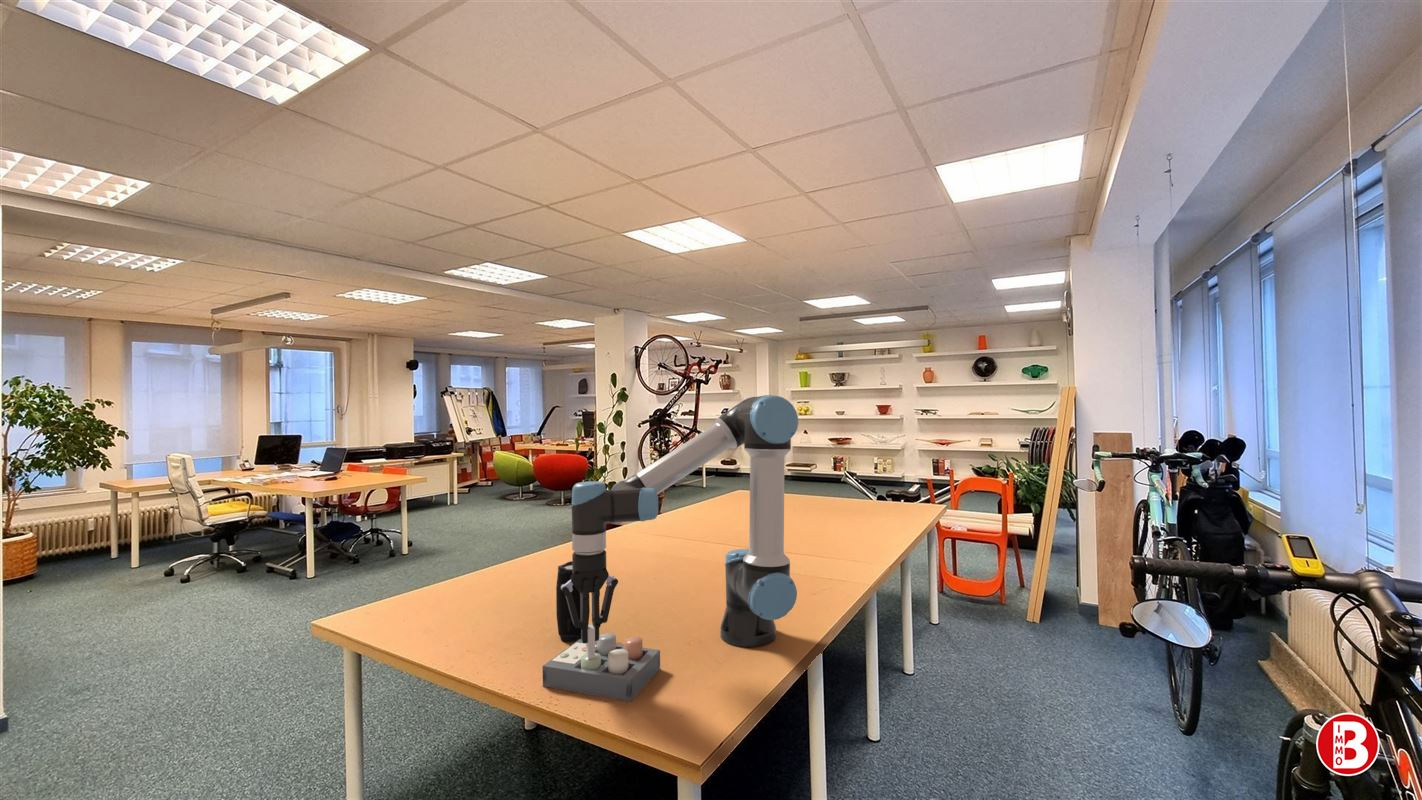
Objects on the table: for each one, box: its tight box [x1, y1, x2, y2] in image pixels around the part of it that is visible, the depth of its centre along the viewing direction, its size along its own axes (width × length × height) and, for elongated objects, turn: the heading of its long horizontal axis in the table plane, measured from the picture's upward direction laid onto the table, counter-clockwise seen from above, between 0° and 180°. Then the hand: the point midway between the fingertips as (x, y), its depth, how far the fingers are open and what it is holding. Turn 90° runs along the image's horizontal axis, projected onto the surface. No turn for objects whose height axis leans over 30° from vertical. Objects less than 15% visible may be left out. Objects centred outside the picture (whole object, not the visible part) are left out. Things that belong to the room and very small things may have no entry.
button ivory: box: [608, 649, 629, 675], centre depth 117 cm, size 4×4×4 cm
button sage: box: [581, 653, 601, 671], centre depth 120 cm, size 4×4×4 cm
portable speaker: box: [555, 560, 591, 643], centre depth 146 cm, size 9×9×20 cm
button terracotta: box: [622, 636, 644, 661], centre depth 124 cm, size 4×4×4 cm
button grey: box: [597, 632, 617, 657], centre depth 126 cm, size 4×4×4 cm
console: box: [542, 638, 661, 703], centre depth 123 cm, size 22×15×5 cm
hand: (590, 655), depth 120 cm, fingers closed
